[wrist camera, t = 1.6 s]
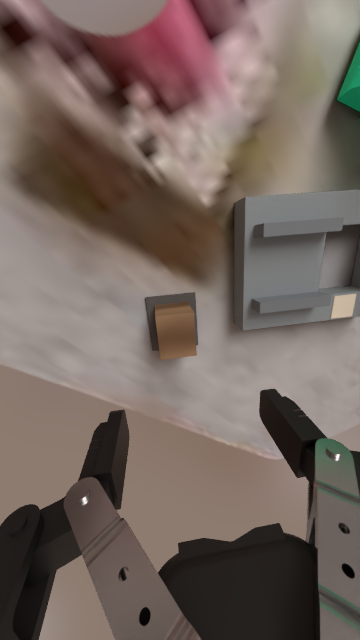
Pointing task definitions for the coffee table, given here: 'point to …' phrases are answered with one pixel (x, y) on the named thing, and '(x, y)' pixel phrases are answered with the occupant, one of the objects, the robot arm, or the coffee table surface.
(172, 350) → the block
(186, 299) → the mat
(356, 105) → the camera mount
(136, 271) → the coffee table surface
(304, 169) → the coffee table surface
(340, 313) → the rail board
